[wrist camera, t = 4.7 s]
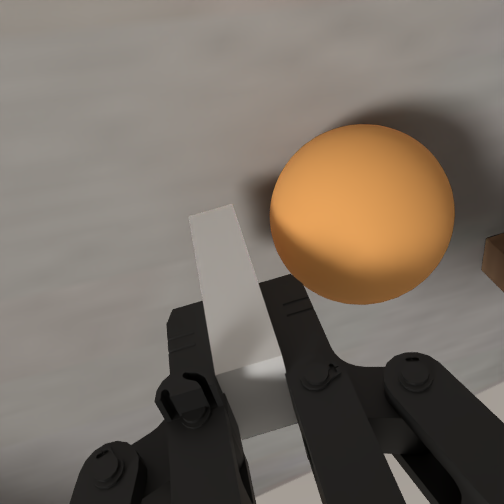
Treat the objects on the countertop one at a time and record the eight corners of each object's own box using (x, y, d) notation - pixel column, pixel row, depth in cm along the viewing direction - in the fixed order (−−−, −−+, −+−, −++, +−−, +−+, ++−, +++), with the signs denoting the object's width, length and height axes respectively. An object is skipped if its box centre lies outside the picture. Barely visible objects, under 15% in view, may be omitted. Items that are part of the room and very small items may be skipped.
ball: (400, 370, 14) (480, 256, 17) (389, 208, 10) (493, 99, 13) (256, 303, 18) (342, 219, 21) (212, 167, 14) (323, 89, 17)
